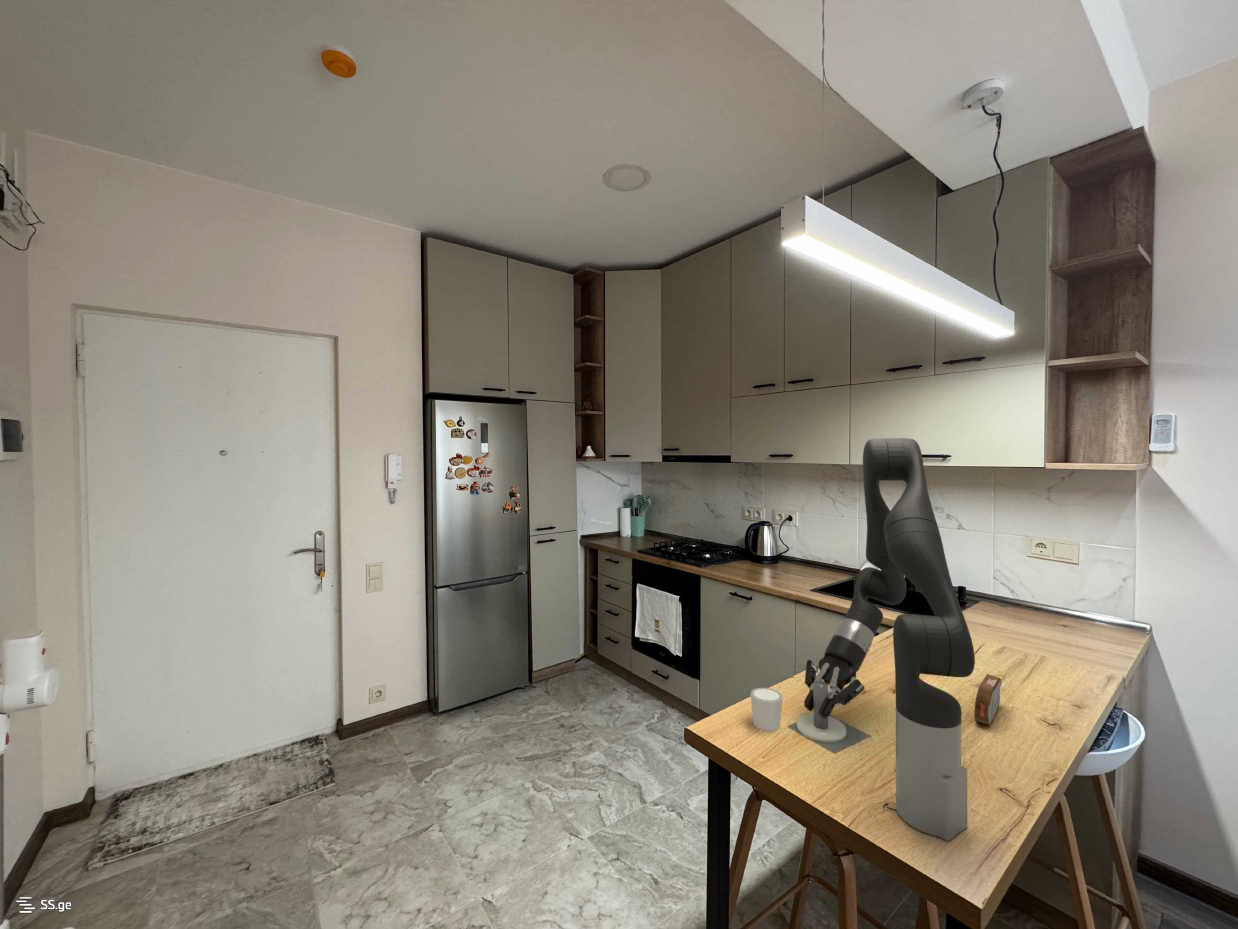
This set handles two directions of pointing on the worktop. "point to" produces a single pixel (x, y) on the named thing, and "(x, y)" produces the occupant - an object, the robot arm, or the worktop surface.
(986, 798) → the worktop surface
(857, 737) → the mat
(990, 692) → the tin
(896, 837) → the worktop surface
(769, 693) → the light grey cylinder
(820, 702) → the peg on round base
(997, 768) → the worktop surface
